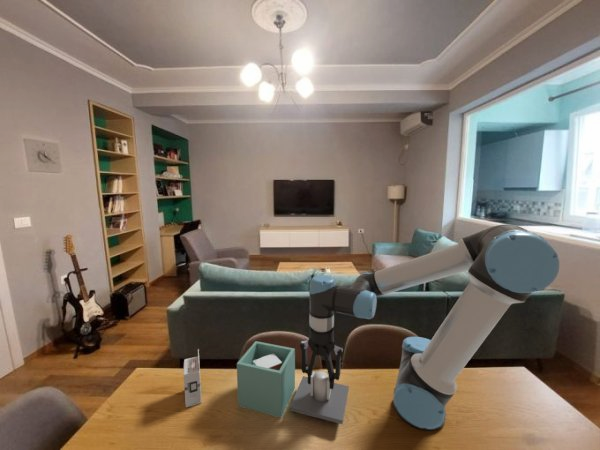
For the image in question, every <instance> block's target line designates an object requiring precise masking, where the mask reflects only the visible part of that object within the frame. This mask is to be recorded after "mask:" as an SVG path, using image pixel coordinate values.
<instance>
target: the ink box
mask: <svg viewBox="0 0 600 450" xmlns="http://www.w3.org/2000/svg"><path fill="white" fill-rule="evenodd" d="M199 352H200V349H199V348H198V349H197V356H194V357H189V358H185V359H184V361H183V382H184V383H183V387H184V399H185V400H184V401H185V402H184V403H185V408H189V407H190V408H191V407H194V406H196V405H200V404H202V385H201V383H202V382H201V367H200V364H201V363H200V353H199Z"/></svg>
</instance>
